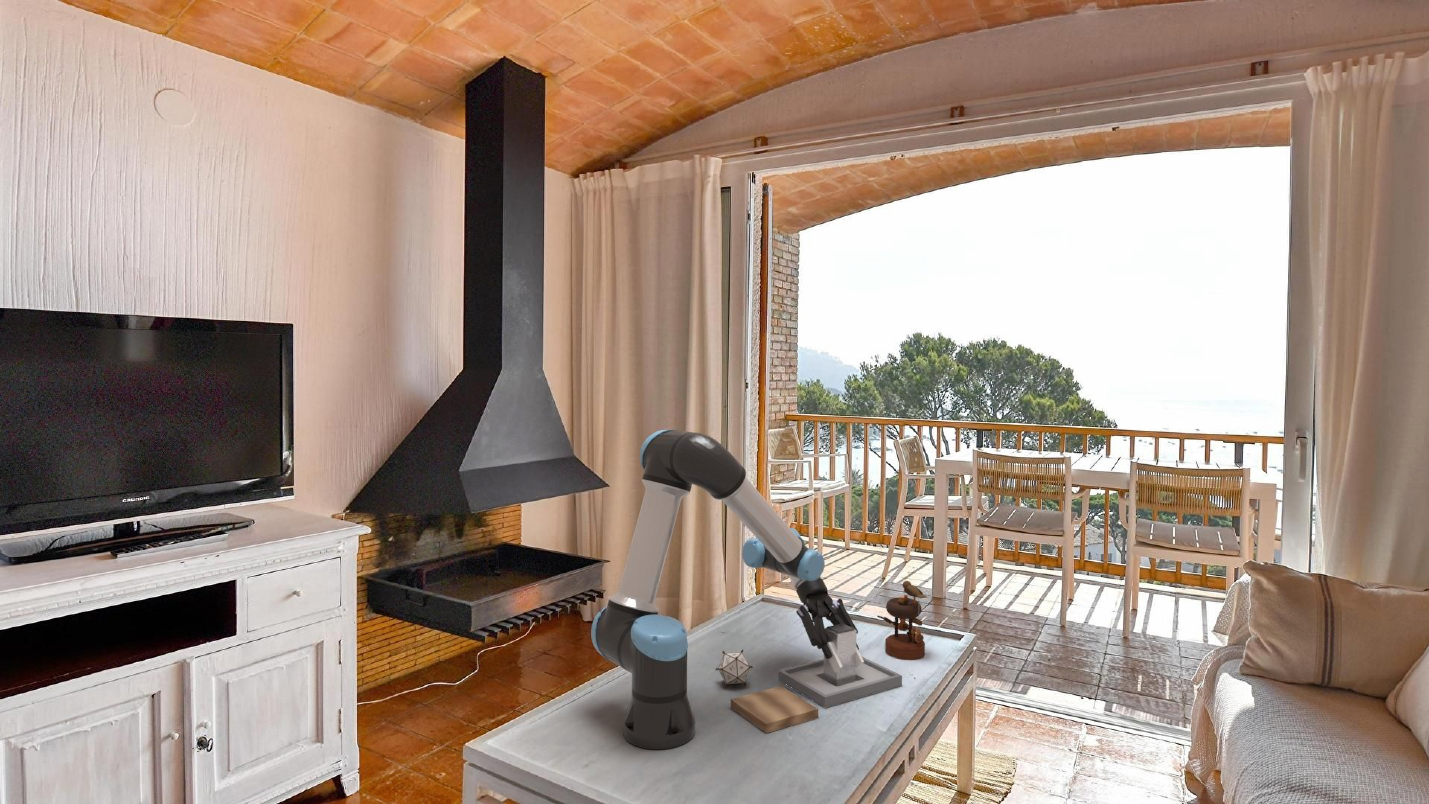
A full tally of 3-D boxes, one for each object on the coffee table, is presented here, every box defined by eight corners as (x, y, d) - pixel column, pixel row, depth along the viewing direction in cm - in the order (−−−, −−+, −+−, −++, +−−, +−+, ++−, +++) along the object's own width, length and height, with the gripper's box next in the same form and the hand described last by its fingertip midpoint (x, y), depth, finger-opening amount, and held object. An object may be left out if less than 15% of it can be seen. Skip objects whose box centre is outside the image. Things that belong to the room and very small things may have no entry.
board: (766, 733, 159) (766, 724, 159) (730, 707, 171) (730, 699, 171) (818, 717, 166) (818, 708, 166) (780, 694, 178) (780, 686, 178)
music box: (938, 654, 204) (936, 582, 202) (916, 668, 197) (914, 594, 195) (890, 639, 215) (888, 571, 213) (867, 652, 208) (865, 581, 206)
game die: (738, 702, 183) (744, 679, 176) (708, 685, 185) (712, 662, 179) (754, 673, 189) (760, 650, 183) (724, 657, 192) (729, 634, 185)
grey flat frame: (825, 708, 171) (825, 697, 171) (778, 680, 187) (778, 670, 186) (901, 685, 184) (902, 675, 183) (852, 661, 199) (852, 651, 199)
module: (836, 686, 181) (837, 632, 181) (823, 678, 186) (824, 626, 185) (855, 681, 184) (856, 628, 184) (842, 674, 189) (842, 622, 188)
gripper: (830, 586, 202) (871, 666, 189) (772, 596, 193) (811, 682, 179) (843, 571, 198) (886, 652, 184) (785, 580, 188) (826, 667, 174)
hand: (849, 667), depth 182 cm, fingers closed on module, 6 cm apart
